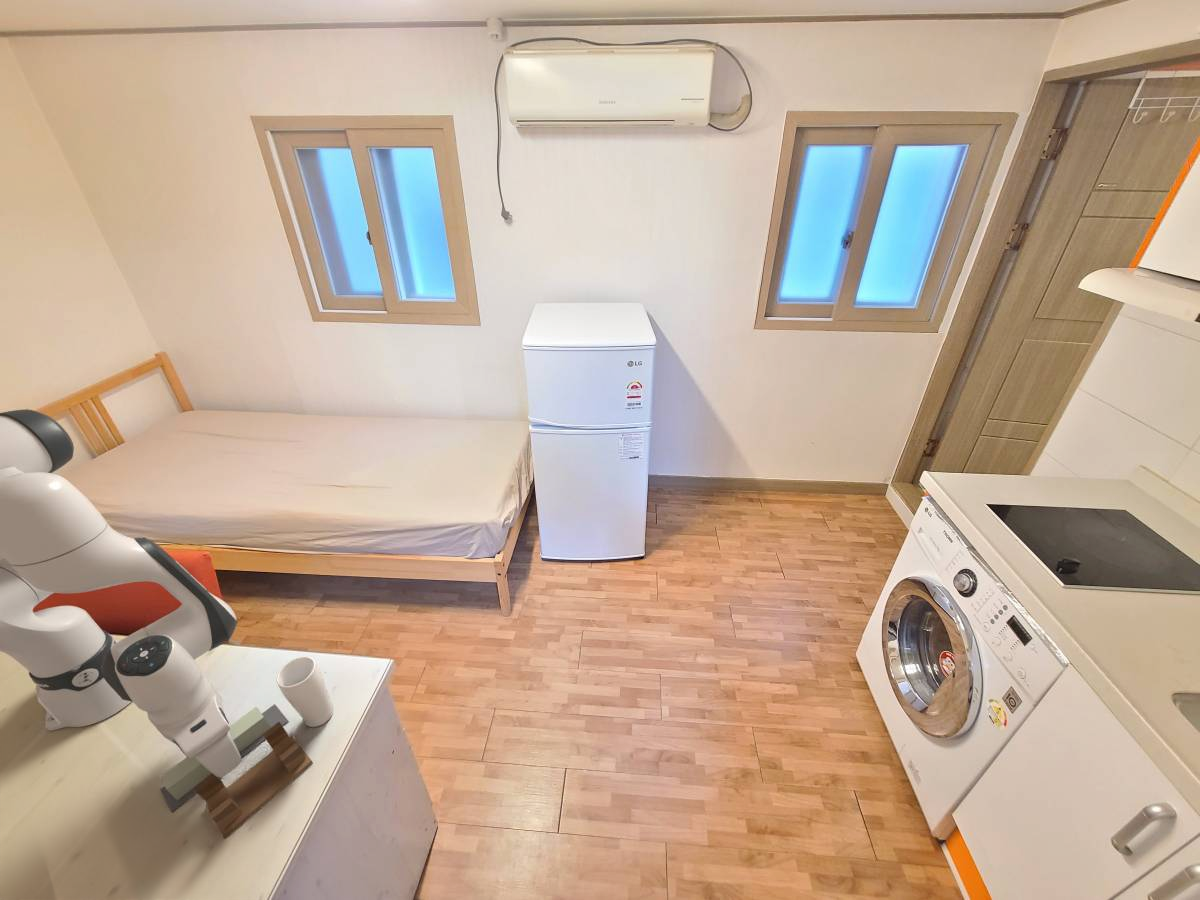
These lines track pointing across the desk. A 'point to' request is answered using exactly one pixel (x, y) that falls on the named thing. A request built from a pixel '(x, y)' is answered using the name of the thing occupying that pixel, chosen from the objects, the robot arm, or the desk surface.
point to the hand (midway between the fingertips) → (221, 750)
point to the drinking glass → (306, 690)
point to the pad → (272, 718)
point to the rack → (254, 782)
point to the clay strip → (194, 772)
